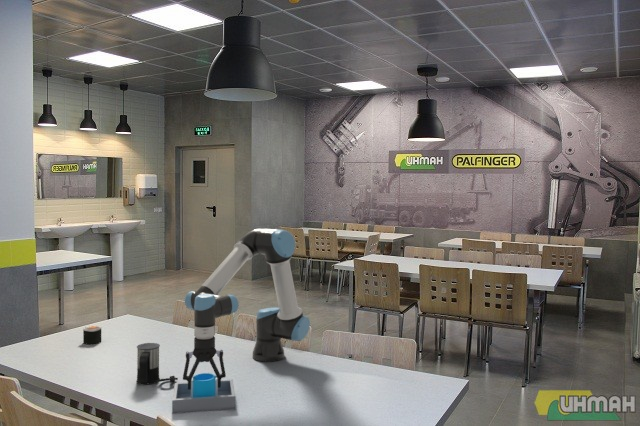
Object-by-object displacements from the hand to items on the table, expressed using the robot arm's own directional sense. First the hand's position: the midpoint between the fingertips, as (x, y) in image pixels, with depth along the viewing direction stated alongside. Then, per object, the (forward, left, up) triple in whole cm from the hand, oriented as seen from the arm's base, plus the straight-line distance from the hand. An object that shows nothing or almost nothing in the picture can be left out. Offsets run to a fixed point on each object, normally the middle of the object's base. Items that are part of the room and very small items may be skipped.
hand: (204, 396), depth 194 cm
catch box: (0, 0, -2) cm, 2 cm away
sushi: (+56, -87, -2) cm, 103 cm away
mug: (-1, 0, 0) cm, 1 cm away
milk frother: (+19, -24, -2) cm, 31 cm away
